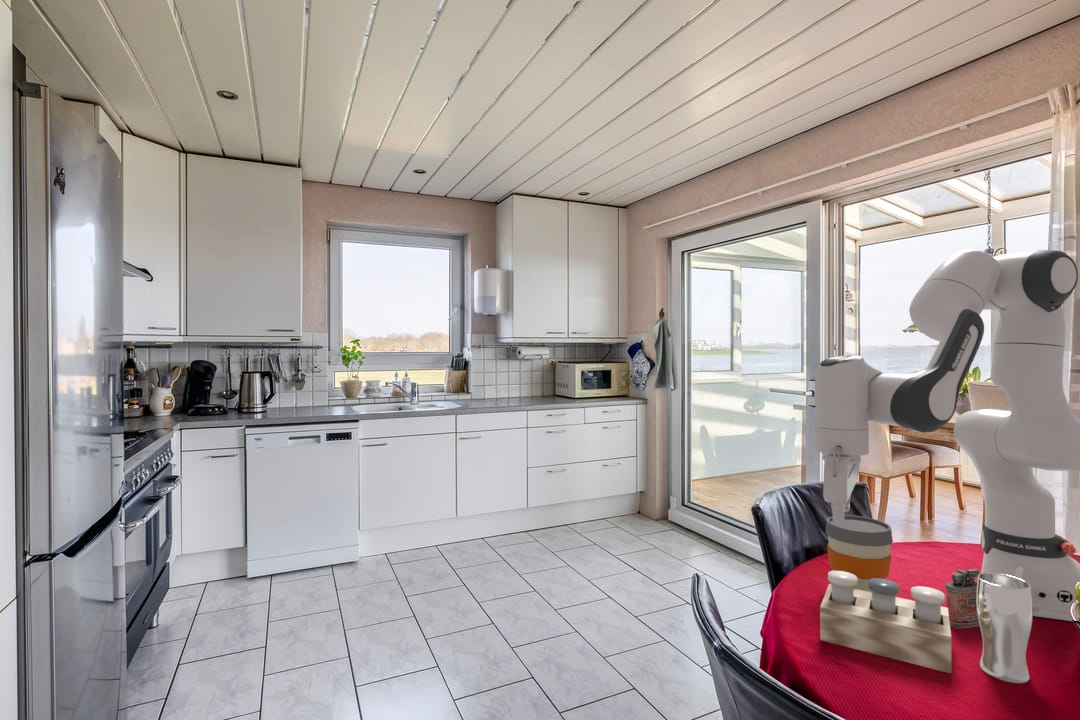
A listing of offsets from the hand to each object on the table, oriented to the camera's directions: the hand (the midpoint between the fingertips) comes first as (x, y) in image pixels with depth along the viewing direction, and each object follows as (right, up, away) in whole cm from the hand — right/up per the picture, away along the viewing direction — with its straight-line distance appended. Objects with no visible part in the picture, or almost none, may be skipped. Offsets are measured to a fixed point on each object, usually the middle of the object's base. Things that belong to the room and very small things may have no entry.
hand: (841, 516), depth 102 cm
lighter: (+25, -21, +2) cm, 33 cm away
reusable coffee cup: (+13, -21, +16) cm, 29 cm away
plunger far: (0, -18, 0) cm, 18 cm away
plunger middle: (+6, -18, -4) cm, 19 cm away
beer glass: (+19, -22, -14) cm, 32 cm away
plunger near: (+11, -18, -7) cm, 22 cm away
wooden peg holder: (+6, -21, -4) cm, 22 cm away
